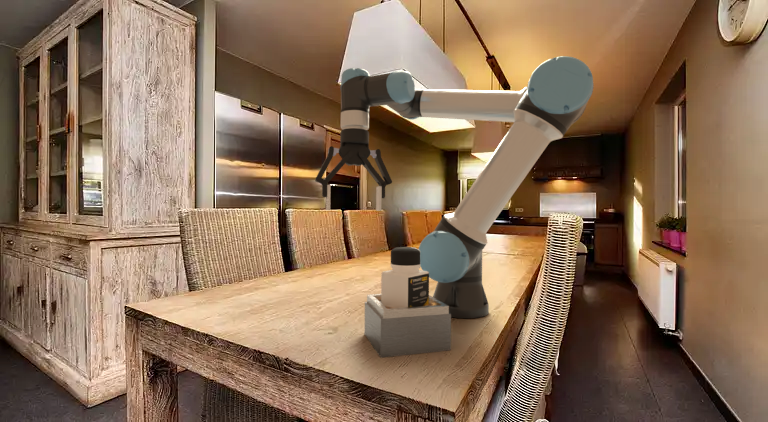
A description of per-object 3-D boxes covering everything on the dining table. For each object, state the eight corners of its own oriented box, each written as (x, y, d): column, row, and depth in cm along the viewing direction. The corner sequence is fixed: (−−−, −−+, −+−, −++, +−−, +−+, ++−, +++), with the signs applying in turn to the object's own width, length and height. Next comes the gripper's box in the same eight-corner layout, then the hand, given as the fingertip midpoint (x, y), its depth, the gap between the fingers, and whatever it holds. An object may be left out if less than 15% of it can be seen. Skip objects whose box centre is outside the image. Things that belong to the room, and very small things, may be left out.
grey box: (424, 328, 82) (425, 291, 82) (450, 350, 70) (451, 305, 70) (364, 334, 79) (364, 294, 79) (380, 357, 66) (380, 310, 66)
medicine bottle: (408, 313, 69) (409, 250, 69) (380, 306, 74) (380, 247, 74) (429, 306, 75) (430, 247, 75) (402, 300, 79) (402, 245, 79)
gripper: (395, 136, 103) (394, 210, 103) (305, 129, 96) (304, 210, 96) (403, 130, 96) (403, 210, 96) (307, 123, 89) (306, 209, 89)
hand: (353, 210), depth 96 cm, fingers open, 13 cm apart
